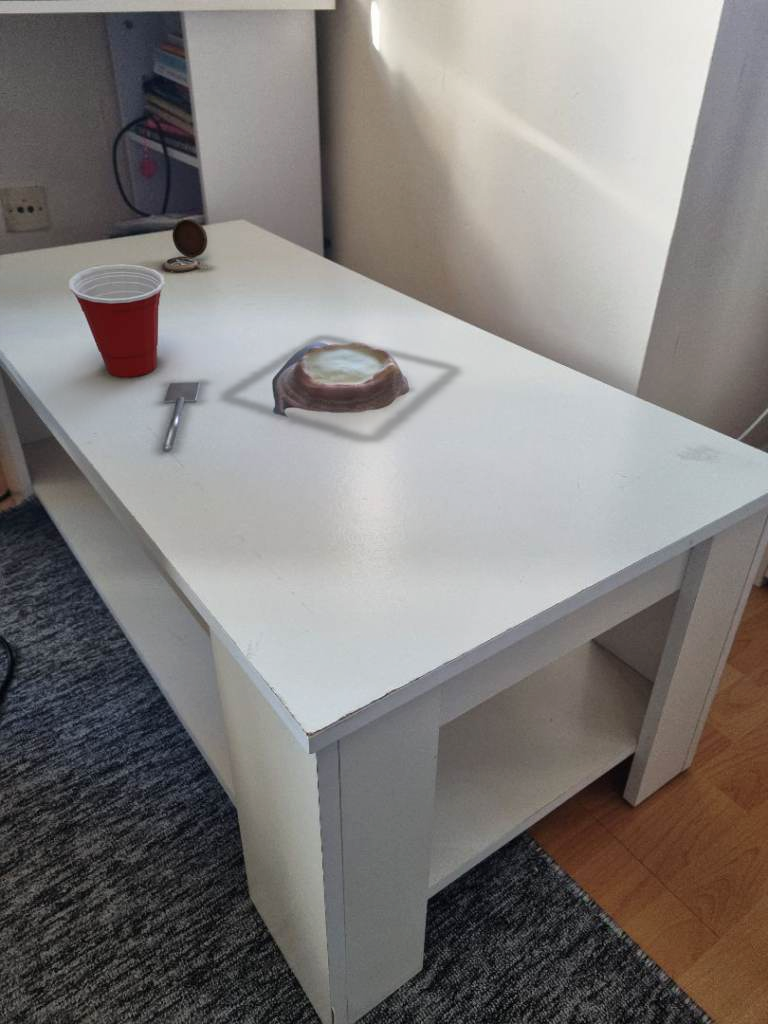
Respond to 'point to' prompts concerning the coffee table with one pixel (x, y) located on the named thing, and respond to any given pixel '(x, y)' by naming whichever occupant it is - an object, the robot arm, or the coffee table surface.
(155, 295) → the plastic cup
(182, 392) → the metal spatula
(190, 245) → the compass
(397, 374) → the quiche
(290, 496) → the coffee table surface
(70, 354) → the coffee table surface
